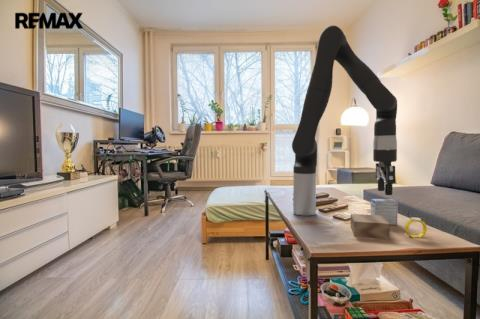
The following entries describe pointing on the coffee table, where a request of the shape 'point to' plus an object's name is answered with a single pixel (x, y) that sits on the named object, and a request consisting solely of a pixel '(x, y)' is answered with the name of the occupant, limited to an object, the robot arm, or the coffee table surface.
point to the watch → (416, 221)
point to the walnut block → (370, 226)
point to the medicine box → (385, 209)
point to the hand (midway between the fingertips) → (384, 192)
